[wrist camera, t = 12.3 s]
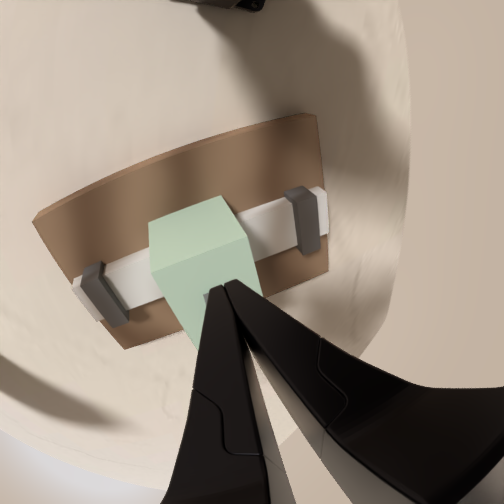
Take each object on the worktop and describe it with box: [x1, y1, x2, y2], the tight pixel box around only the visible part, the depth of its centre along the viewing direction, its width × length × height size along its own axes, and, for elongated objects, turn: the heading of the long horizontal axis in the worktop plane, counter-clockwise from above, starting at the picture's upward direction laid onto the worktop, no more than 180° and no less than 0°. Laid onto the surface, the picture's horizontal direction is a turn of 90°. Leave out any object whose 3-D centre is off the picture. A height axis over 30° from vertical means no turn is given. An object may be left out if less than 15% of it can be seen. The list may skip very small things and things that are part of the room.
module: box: [148, 195, 263, 350], centre depth 17 cm, size 5×7×6 cm
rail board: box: [32, 113, 329, 350], centre depth 19 cm, size 20×14×4 cm
